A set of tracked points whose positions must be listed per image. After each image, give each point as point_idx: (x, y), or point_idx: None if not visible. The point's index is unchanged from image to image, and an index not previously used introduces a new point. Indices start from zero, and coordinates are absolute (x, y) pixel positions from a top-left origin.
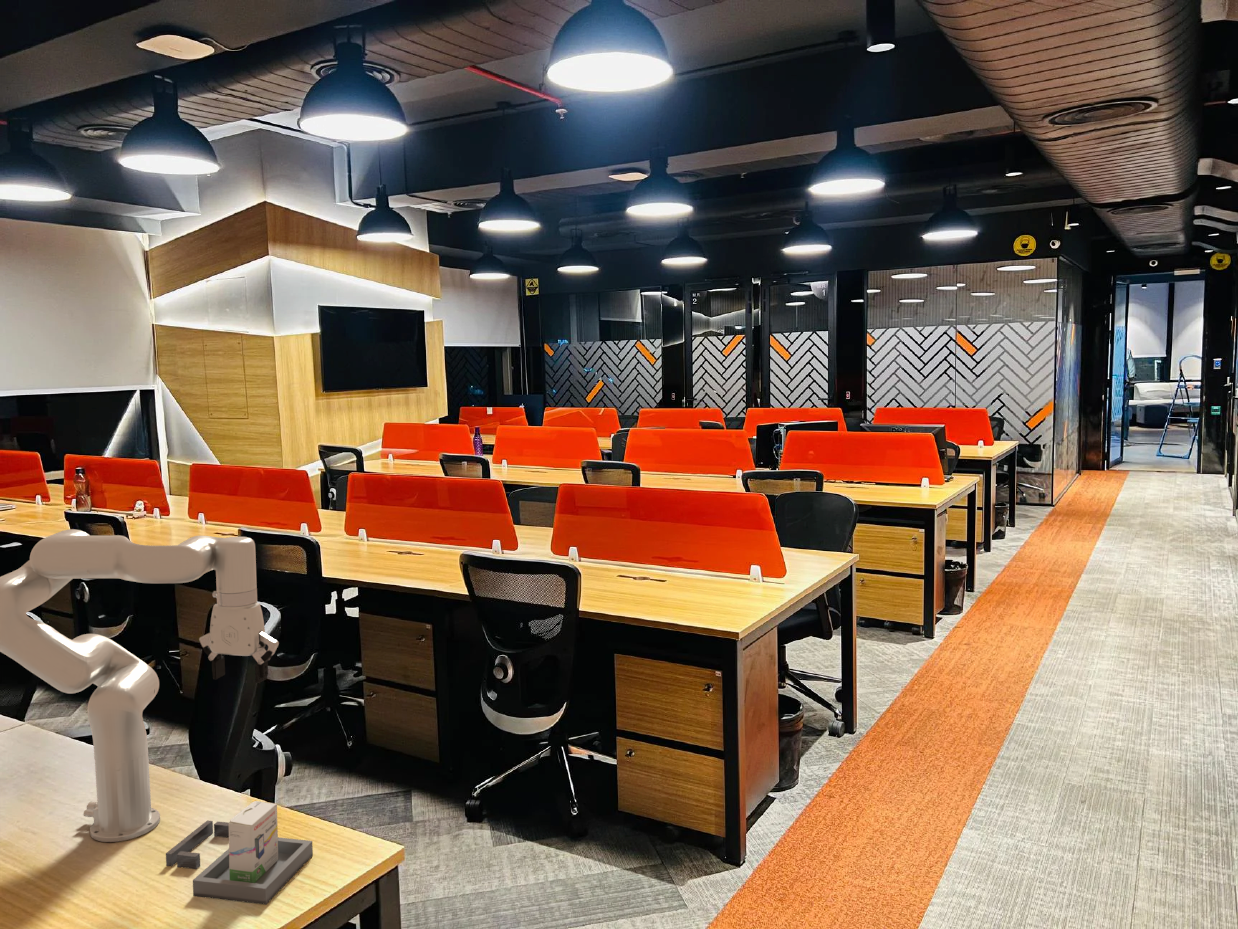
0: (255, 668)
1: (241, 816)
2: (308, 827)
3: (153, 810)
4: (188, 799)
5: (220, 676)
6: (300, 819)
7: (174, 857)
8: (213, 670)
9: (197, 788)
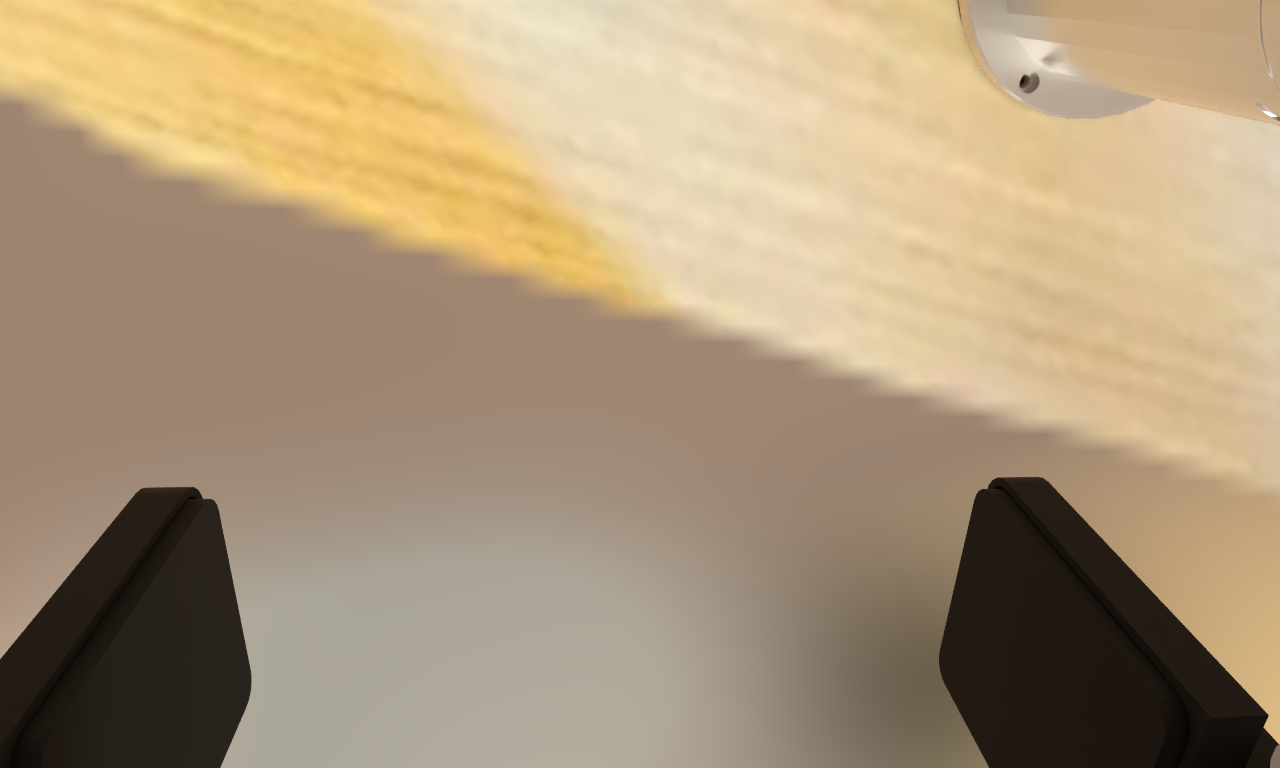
0: (76, 686)
1: None
2: (220, 120)
3: (1033, 91)
4: (936, 261)
5: (962, 582)
6: (311, 185)
7: None
8: (1107, 568)
9: (944, 357)
